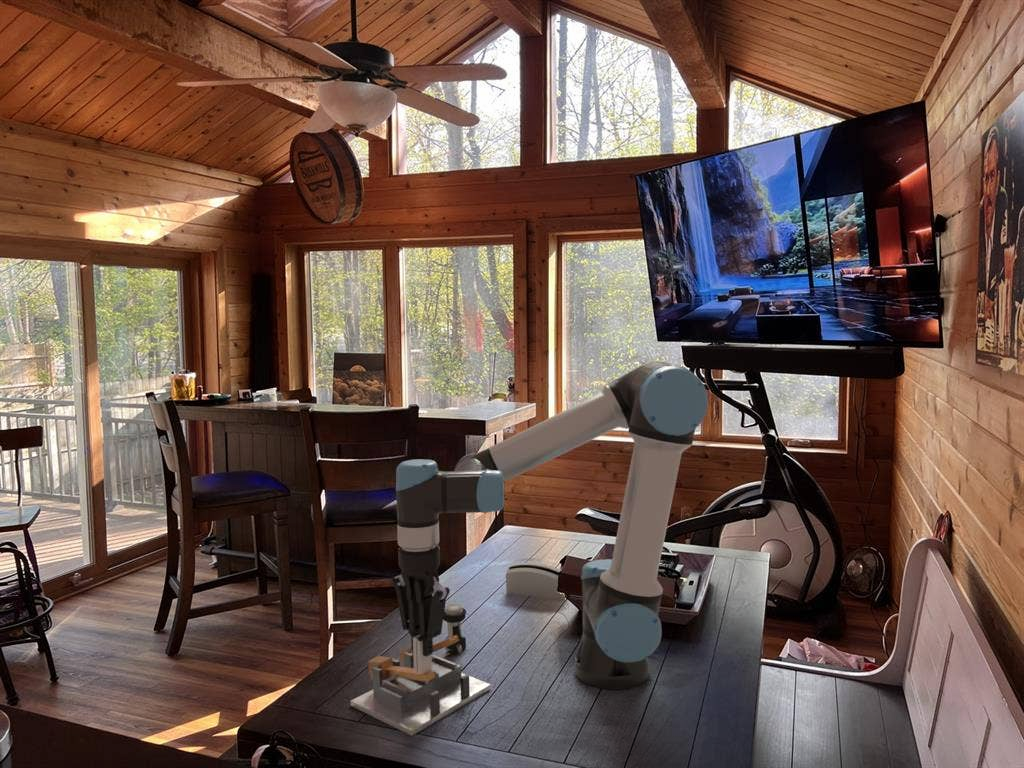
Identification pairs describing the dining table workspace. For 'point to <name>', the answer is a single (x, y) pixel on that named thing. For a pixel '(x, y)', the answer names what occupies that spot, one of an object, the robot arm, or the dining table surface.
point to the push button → (454, 628)
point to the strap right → (435, 646)
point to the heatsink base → (421, 710)
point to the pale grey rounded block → (533, 580)
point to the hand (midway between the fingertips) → (422, 670)
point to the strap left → (397, 670)
